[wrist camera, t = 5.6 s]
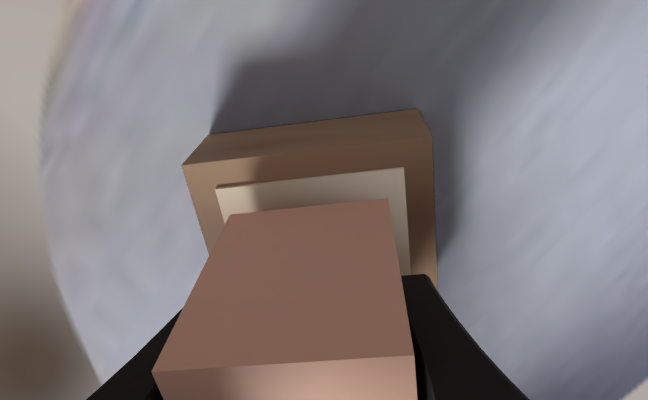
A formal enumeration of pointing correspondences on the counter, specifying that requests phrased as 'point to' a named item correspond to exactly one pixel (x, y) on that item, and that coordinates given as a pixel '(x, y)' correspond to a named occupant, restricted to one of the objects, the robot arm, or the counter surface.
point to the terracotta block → (295, 311)
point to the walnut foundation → (323, 175)
